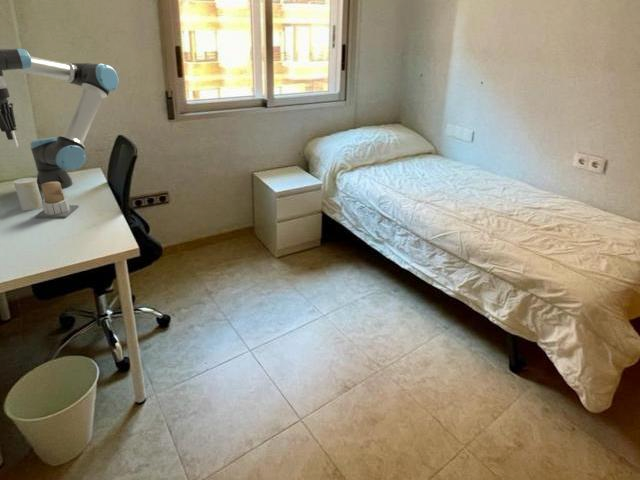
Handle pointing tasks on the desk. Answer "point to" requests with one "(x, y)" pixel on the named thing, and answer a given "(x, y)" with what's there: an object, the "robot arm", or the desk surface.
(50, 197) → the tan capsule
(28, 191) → the cup
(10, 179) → the desk surface
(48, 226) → the desk surface
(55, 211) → the socket
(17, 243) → the desk surface
